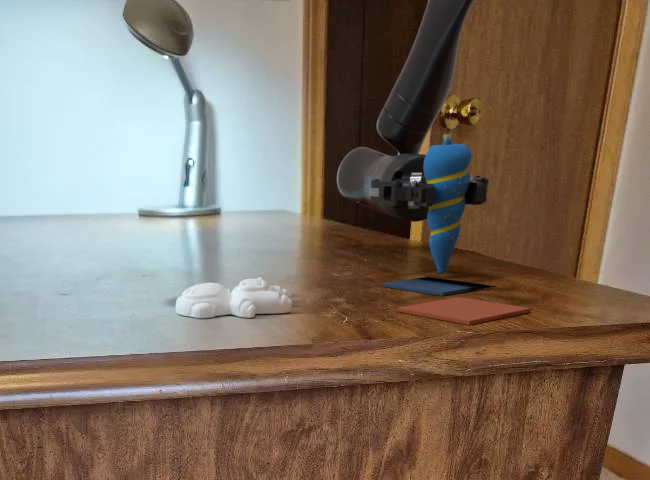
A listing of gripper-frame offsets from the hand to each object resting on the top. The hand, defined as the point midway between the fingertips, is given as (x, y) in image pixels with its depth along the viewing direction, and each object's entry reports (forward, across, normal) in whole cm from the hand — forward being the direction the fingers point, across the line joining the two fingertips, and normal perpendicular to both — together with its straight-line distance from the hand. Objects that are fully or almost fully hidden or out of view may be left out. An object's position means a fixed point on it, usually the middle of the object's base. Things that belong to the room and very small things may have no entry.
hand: (455, 194), depth 85 cm
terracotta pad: (+13, -3, +10) cm, 16 cm away
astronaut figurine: (+7, -25, +10) cm, 27 cm away
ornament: (-3, 0, +9) cm, 9 cm away
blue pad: (-3, 0, +10) cm, 10 cm away
